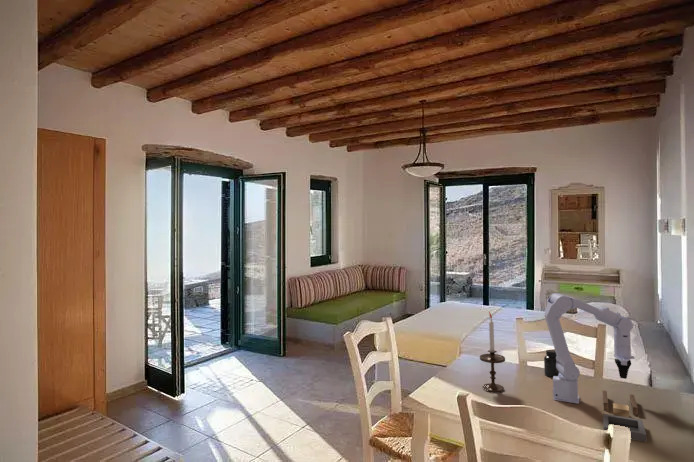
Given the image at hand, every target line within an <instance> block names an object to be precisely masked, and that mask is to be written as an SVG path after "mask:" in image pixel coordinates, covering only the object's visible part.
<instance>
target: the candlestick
mask: <svg viewBox="0 0 694 462" xmlns="http://www.w3.org/2000/svg"><path fill="white" fill-rule="evenodd" d="M488 314H489V317H490V320H489V322H488V328H489V329H488V331H489V332H488V333H489V350H487V352H488V353H484V354H483V353H482V354H480V355H479V360H480V361H482V362H483V363H489V364H490V371H489V375H490V376H489V378H490V379H491V383H490V382H489V383H485V384H483V385H484V386H485V385H486V386H487V385H489V387H488V388H487V387H486V386H485V387H484V386H483V385H482V389H483V388H484V389H486V390H488V391H490V392H489V393H491V392H500V393H502V392H501V391H503V390H505V387H504V386H503V385H501V384H497V383H495V382H496V381H495V380H496V379H497V378H496V377H495V376H496V375H497V371H495V364H500V363H501V364H502V363H504V362H506V357H505V356H504V355H501V354H497V353H498V352H497V350H495V329H494V327H495V325H494V321H493V319H492V318H493V316H492V314H491V312H490V311H489V313H488ZM484 389H483V390H484ZM503 392H504V391H503Z"/></svg>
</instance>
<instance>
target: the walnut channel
mask: <svg viewBox="0 0 694 462" xmlns="http://www.w3.org/2000/svg"><path fill="white" fill-rule="evenodd" d="M629 403H630V407H631V408H630V409H631V413H632V416H637V417H638V416H639V415H638V414H639V407H638V404H637V401H636V397H635V394H631V393H630V394H629ZM602 405H603V411H607V412H609V399H608V390H602Z"/></svg>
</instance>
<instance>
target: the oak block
mask: <svg viewBox="0 0 694 462" xmlns="http://www.w3.org/2000/svg"><path fill="white" fill-rule="evenodd" d="M612 412H613V414H612V415H615V416H621V417H627V418H630V407H629V405H626V404H621V403H614V402H612Z"/></svg>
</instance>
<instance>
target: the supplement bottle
mask: <svg viewBox="0 0 694 462" xmlns="http://www.w3.org/2000/svg"><path fill="white" fill-rule="evenodd" d="M556 356H557V355H556V351H555V349H546V351H545V356H543V361H544V362H543V363H544V364H543V370H544V376H546V377H547V378H548V377H549V378H552V379H553V376H558V374H559V371H558V370H557V368H556V363H557V360H556Z"/></svg>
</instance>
